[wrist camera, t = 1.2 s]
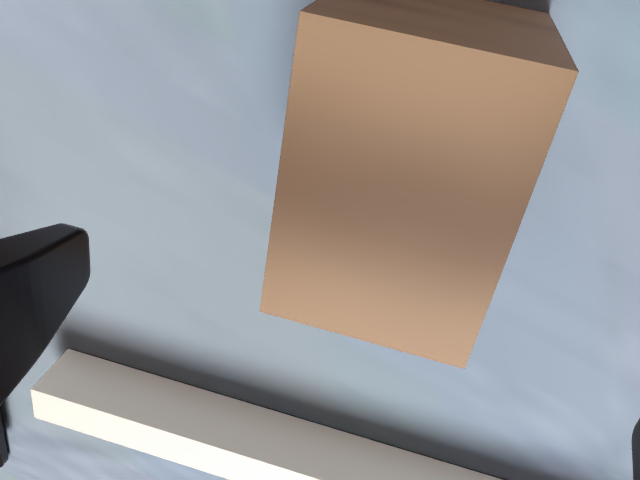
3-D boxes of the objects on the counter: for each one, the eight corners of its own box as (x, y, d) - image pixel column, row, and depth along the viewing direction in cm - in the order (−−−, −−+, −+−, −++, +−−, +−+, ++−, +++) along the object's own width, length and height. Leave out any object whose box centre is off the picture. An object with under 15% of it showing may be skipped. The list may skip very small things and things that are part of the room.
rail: (70, 380, 27) (35, 422, 25) (67, 348, 26) (30, 389, 24) (625, 551, 24) (638, 615, 22) (646, 523, 23) (662, 587, 21)
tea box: (470, 242, 19) (464, 369, 14) (313, 202, 20) (253, 309, 15) (548, 12, 16) (579, 71, 10) (353, -28, 16) (291, 8, 11)
